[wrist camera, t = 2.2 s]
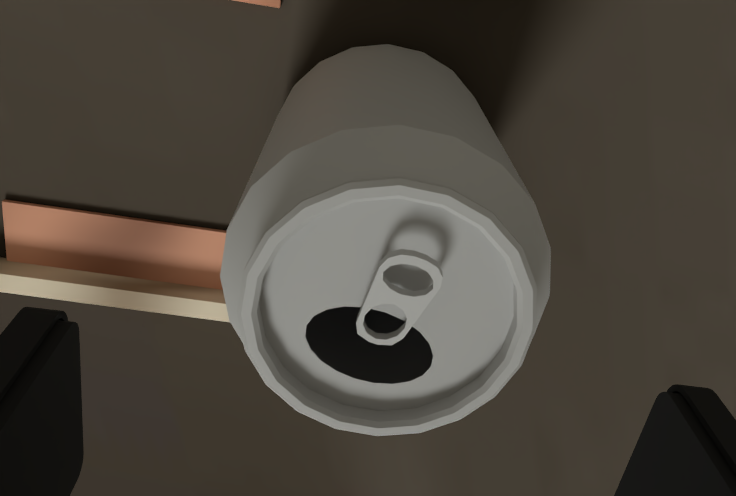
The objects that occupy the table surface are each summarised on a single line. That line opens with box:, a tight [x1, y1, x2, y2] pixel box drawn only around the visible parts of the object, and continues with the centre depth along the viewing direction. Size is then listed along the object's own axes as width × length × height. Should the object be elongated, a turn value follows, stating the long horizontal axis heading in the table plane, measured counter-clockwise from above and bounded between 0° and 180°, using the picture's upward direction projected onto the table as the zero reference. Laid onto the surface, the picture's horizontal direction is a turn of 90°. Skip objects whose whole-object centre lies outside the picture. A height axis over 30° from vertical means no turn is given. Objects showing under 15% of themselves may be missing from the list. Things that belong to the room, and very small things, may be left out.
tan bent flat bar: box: [0, 0, 281, 322], centre depth 23 cm, size 25×15×4 cm, turn 81°
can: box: [220, 44, 551, 436], centre depth 19 cm, size 8×8×12 cm
